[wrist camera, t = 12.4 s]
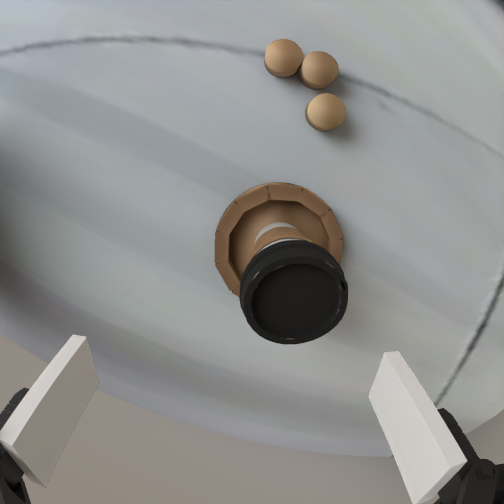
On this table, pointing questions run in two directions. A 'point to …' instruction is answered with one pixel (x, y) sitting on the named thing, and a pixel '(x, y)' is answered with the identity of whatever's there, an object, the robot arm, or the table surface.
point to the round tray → (267, 212)
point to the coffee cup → (291, 287)
